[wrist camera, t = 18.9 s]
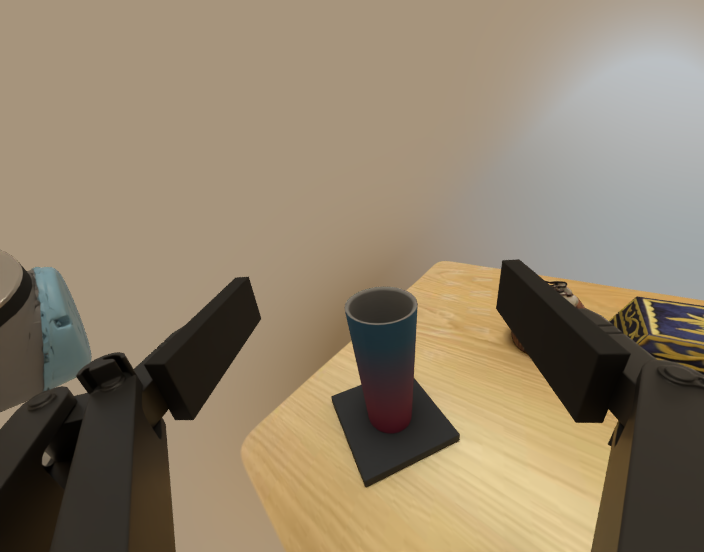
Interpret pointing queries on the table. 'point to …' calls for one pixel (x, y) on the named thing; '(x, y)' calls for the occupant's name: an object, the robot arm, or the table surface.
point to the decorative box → (665, 330)
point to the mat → (392, 434)
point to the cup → (385, 353)
